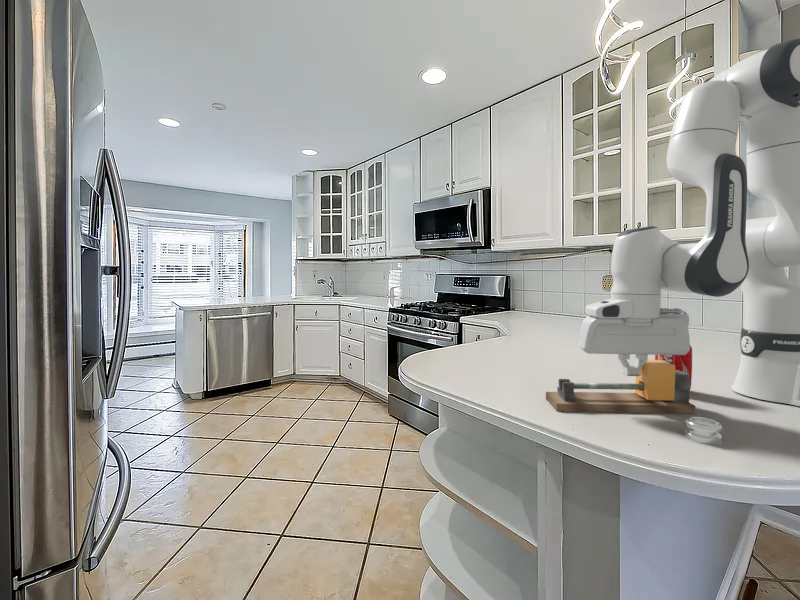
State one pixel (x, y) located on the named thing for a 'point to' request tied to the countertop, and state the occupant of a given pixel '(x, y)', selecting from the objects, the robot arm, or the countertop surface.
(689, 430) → the clear spool
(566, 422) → the countertop surface
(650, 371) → the orange slider block
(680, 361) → the soda can
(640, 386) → the slider rail board
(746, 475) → the countertop surface
